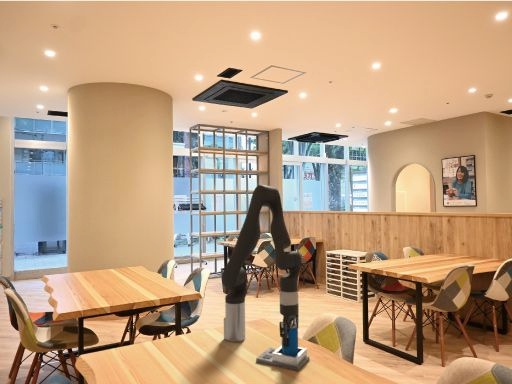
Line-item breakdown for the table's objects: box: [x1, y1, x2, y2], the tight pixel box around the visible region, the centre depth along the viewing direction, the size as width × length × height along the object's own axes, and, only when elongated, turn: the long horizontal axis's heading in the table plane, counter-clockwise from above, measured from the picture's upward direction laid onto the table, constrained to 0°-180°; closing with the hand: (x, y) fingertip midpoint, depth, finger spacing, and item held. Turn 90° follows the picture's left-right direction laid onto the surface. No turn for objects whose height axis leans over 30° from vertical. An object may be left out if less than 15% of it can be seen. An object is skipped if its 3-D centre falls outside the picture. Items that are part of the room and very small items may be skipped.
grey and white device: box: [255, 345, 310, 372], centre depth 150 cm, size 18×12×4 cm, turn 61°
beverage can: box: [281, 324, 299, 356], centre depth 149 cm, size 6×6×12 cm
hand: (289, 343), depth 149 cm, fingers closed on beverage can, 6 cm apart
